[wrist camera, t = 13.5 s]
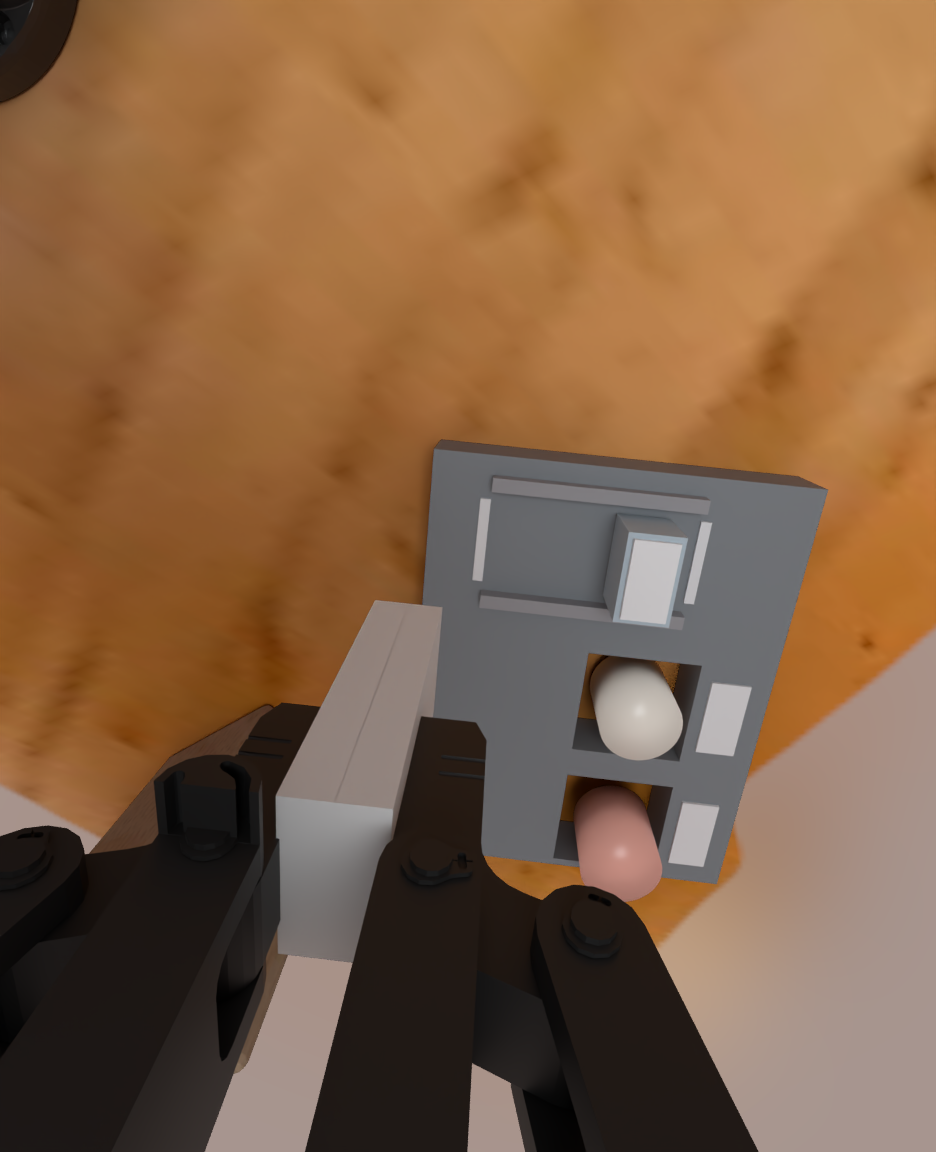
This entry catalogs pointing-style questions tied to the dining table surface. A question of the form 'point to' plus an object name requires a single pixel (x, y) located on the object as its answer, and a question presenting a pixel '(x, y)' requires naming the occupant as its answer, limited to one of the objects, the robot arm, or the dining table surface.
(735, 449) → the dining table surface
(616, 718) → the button ivory
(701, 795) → the console
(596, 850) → the button coral
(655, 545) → the slider knob
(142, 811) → the wooden block
